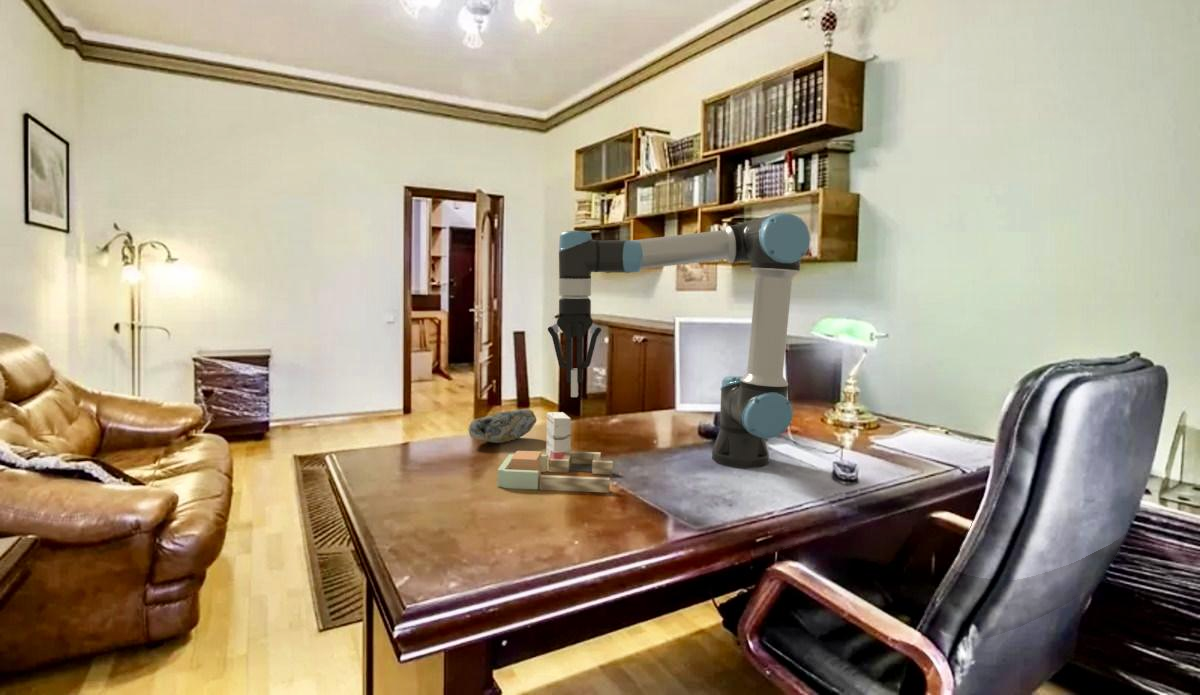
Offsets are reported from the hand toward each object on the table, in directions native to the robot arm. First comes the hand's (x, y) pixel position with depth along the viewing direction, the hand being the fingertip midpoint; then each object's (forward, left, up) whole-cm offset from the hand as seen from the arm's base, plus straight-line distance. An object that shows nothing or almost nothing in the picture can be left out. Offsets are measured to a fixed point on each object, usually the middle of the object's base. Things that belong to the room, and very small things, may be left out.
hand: (574, 395), depth 156 cm
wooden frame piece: (-1, -2, -20) cm, 20 cm away
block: (+11, +2, -20) cm, 23 cm away
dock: (+12, +2, -20) cm, 23 cm away
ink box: (+6, -17, -21) cm, 27 cm away
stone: (+24, -30, -21) cm, 44 cm away
